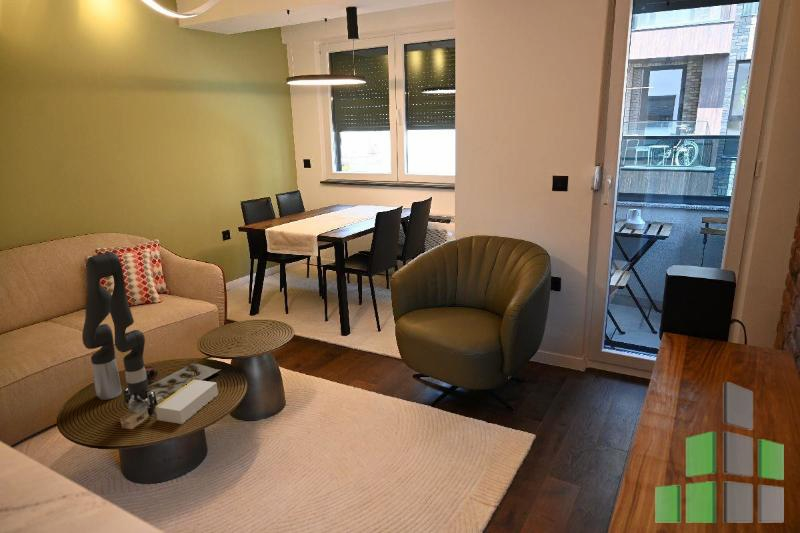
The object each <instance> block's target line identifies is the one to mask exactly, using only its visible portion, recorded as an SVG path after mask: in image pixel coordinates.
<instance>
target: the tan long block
mask: <svg viewBox="0 0 800 533" xmlns="http://www.w3.org/2000/svg"><path fill="white" fill-rule="evenodd" d="M161 397H162V396H161ZM161 397H156V400H157V405H159V404H160V403H162V402H163V401H162V398H161ZM153 403H154V401H153ZM157 405H155V406H154V407H153V408H154V413H155V412H156V408H155V407H156V406H157ZM147 408H148V407H147ZM147 408H146V409H145V410H143V411H142V412H141V413H139V414H135V413H130V412H127V413H126V414H125V415H124V416H122V417H120V418H119V420H120V425H121V428H122V429H128V430H134V429H135V428H136V427H138V426H139V424H141V423H142V422H144V421H145V420H147V419H148V418H149V417H150V416H149V415H148V409H147Z"/></svg>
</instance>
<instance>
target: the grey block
mask: <svg viewBox="0 0 800 533" xmlns="http://www.w3.org/2000/svg"><path fill="white" fill-rule="evenodd" d="M145 409H146V405H145V404H143V403H142V402H140V401H134V402H133V403H132V404H130V405H129V404H128V411H129V412H130V413H135V414H139V413H141V412H142V411H143V410H145ZM129 412H128V413H129Z"/></svg>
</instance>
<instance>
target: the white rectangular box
mask: <svg viewBox="0 0 800 533" xmlns="http://www.w3.org/2000/svg"><path fill="white" fill-rule="evenodd" d="M218 395H219V391H218V383H217V382H214V381H207V380H195V379H194V380H192V381H191V382H189V383H188V384H187V385H185V386H183V387H182V388H181V389H180V390H178V391H177V392H175V393H174V394H173V395H169V397H166V398H165V399H166V400H164V401H162V403H160V404H159V405H157V406H156V407H155V408H156V411H155V412H156V413H155V414H156V417H157V418H156V419H157V421H160V422H161V421H162V422H168V423H174V424H178V425H183V424H184V423H185V422H186V420H187V421H188V420H189V419H190V418H192V417H193V416H194V415H195V414H196V413H198V412H199V411H200V410H201V409H202V408H204V407H206V405H207V404H208V402H209V403H210V402H211V401H212V400H213V399H215V398H216V397H217V396H218ZM214 397H215V398H214ZM203 406H204V407H203ZM198 410H199V411H198ZM197 411H198V412H197Z"/></svg>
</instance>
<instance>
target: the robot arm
mask: <svg viewBox="0 0 800 533" xmlns="http://www.w3.org/2000/svg"><path fill="white" fill-rule="evenodd" d="M85 263H86V265H85V266H86V268H85V270H86V282H87V283H86V285H87V286H86V287H87V288H86V298H85V299H86V300H85V317H84V318H85V320H84V324H83V329H82V333H81V334H82V335H81V336H82V338H81V339H82V343H83V345H84V347H85V348H86V349H88V350H93V349H97V348H98V350H97V351H96V352H94V353H93V354H92V355H91V357H90V360H91V365H92V371H93V375H94V377H93V383H94V388H95V394H96V398H97V397H98V399H100V400H102V401H103V400H105V401H106V400H112V399H115V398H118V397H119V396H120V395H121V394H122V393H123V398H124V399H123V401H124V404H128V406H129V405H130V404H132V403H133V402H134V401H140V402H142V403H143V404H145V405H146V406H147V407H148V408H147V409H148V415H149V417H150V416H152V415H154V413H155V412H154V408H153V407H154V406H155V405H157V400H156V395H155V392H154V391H153V392H150V391H149V389H147V388H148V386H149V383H148V380H147V374H146V370H145V367H144V366H145V363H144V362H145V361H144V350H145V344H146V341H145V340H146V338H145V335H144V333H143V332H142V331H141V330H140V329H133V330H131V331H128V332H126V331H127V328H129V327H130V326H132V325H133V324H134V322H135V319H134V317H133V313H132V309H131V308H130V303H129V301H128V297H127V296H128V295H127V288H126V283H125V276H124V270H123V265H122V262H121V259H120V257H119V255H118V254H117V253H116V252H112V251H109V252H104V253H100V254H95V255H92V256H89V257H88V258H87V260H86V262H85ZM108 277H112V278H113V289H112V290H113V291H112V294H111V292H109V290H107V289H106V288H105V287H104V286H103V285H102V284H101V280H102V279H105V278H108ZM109 314H110V317H111V320H112V323H113V328H114V330H112V328H111V327H110V325H109V324H107V323H103V324H101V323H102V322H104V321H105V320H106V318H107V317H108V316H109ZM113 331H114V332H113ZM113 333H114V334H113ZM116 350H117V351H119V352H120V353H126V352H128V354H126V355H125V356H124V357H123V358H122V359H123V361H122V362H123V365H124V374H125V381H126V386H127V387H126V388H125V389H124V390H122V385H121V384H122V383H121V379H120V374H119V369H118V362H117V360H116ZM129 351H130V352H129ZM146 398H147V399H148V400H147V401H145V400H146ZM153 401H154V403H153ZM148 402H149V403H150V404H148Z"/></svg>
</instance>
